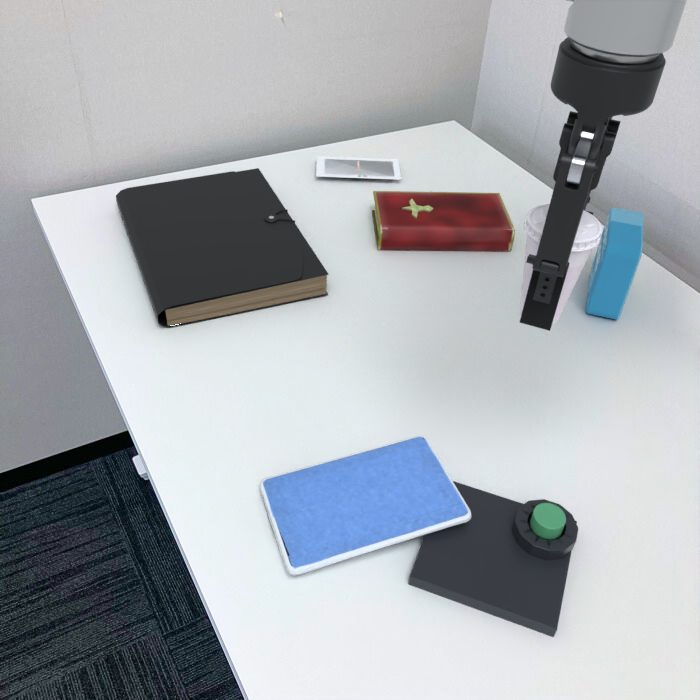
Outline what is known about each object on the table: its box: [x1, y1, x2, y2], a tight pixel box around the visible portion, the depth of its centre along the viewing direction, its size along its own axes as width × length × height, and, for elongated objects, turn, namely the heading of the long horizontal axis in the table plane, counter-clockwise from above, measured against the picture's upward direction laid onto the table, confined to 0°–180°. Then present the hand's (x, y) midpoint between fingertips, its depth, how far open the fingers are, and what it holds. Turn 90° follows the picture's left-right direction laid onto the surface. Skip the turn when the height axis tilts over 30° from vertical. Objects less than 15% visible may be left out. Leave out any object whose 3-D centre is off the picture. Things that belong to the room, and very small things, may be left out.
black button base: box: [407, 480, 579, 638], centre depth 74 cm, size 14×13×3 cm
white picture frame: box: [315, 155, 402, 181], centre depth 134 cm, size 8×15×2 cm, turn 91°
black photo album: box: [115, 167, 329, 328], centre depth 113 cm, size 33×4×24 cm
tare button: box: [530, 503, 566, 539], centre depth 74 cm, size 3×3×2 cm
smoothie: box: [519, 203, 603, 325], centre depth 65 cm, size 6×6×14 cm
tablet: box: [259, 435, 471, 577], centre depth 77 cm, size 19×13×1 cm, turn 109°
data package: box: [585, 207, 645, 321], centre depth 106 cm, size 12×4×12 cm, turn 163°
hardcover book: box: [371, 190, 516, 253], centre depth 120 cm, size 12×21×4 cm, turn 93°
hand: (543, 302), depth 68 cm, fingers closed on smoothie, 6 cm apart
